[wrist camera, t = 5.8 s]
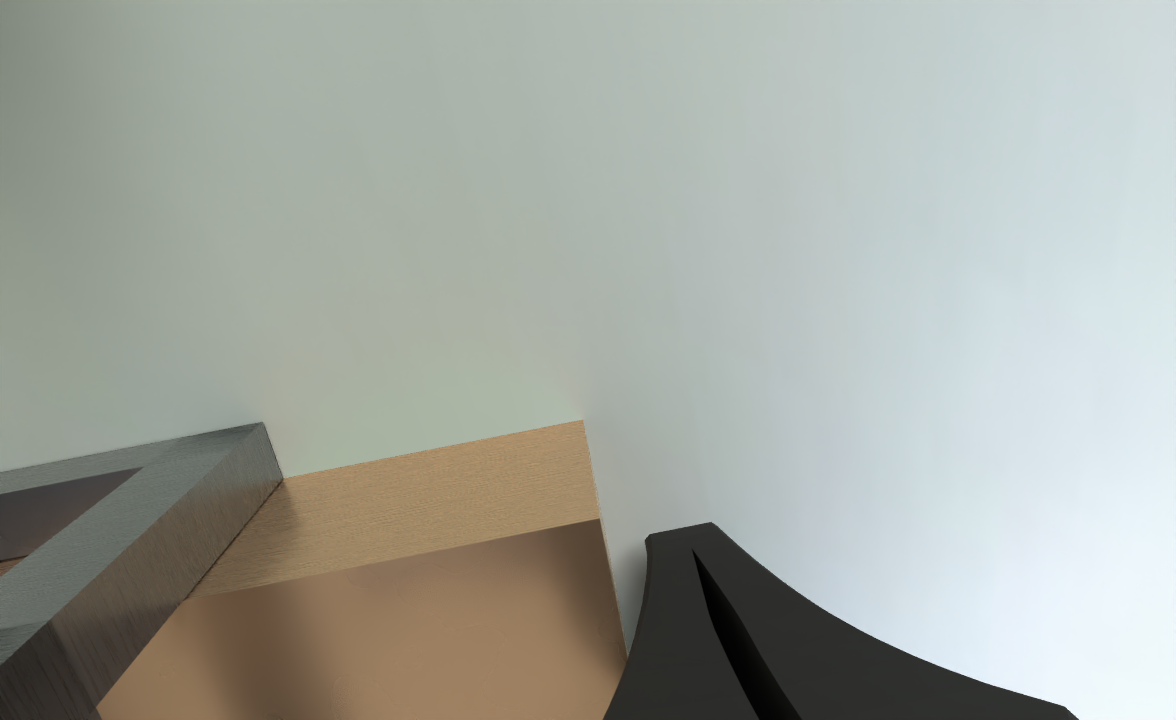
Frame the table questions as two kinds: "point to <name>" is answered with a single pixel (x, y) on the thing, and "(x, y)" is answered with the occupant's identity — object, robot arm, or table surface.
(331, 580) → the pine wood beam
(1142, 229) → the table surface
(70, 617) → the gray metal beam bracket
